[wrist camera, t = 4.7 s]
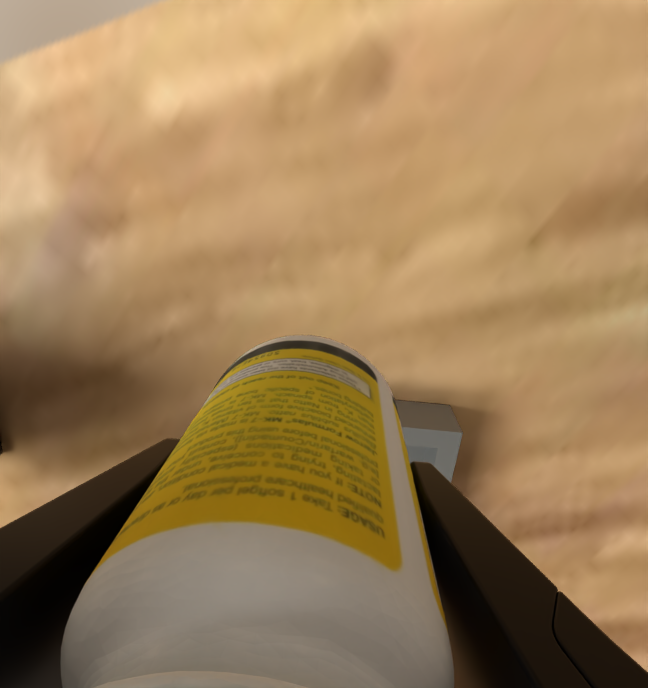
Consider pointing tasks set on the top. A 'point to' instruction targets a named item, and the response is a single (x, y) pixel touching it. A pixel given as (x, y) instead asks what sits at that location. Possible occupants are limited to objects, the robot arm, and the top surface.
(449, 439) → the grey square tray
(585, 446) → the top surface
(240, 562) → the supplement bottle
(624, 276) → the top surface
